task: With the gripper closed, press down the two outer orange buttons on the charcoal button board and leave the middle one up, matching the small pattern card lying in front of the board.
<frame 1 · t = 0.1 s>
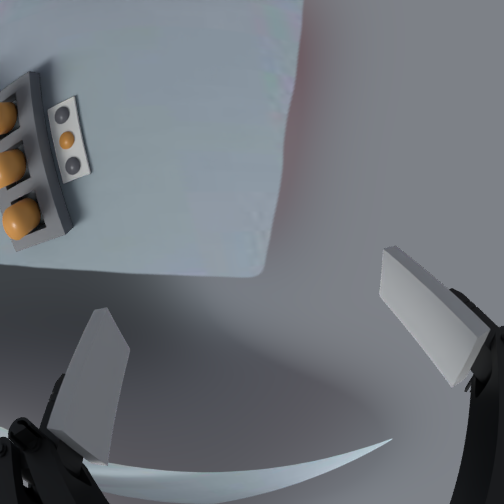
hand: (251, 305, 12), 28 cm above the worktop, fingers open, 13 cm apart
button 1: (21, 218, 29), point 5 cm above the worktop, slide at 0.0 cm
pattern card: (68, 140, 31), on the worktop
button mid: (7, 168, 26), point 5 cm above the worktop, slide at 0.0 cm
board: (24, 162, 30), on the worktop
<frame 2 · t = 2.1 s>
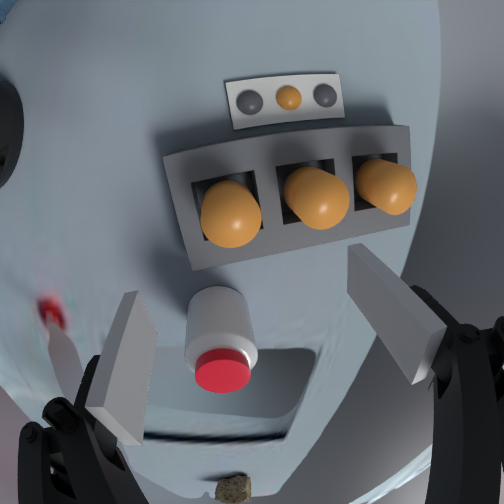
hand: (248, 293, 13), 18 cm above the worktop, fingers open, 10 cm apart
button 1: (385, 185, 25), point 5 cm above the worktop, slide at 0.0 cm
pattern card: (287, 98, 25), on the worktop
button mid: (314, 195, 25), point 5 cm above the worktop, slide at 0.0 cm
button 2: (229, 211, 25), point 5 cm above the worktop, slide at 0.0 cm
rock: (230, 478, 66), on the worktop
pill bottle: (217, 310, 35), on the worktop
board: (299, 185, 29), on the worktop
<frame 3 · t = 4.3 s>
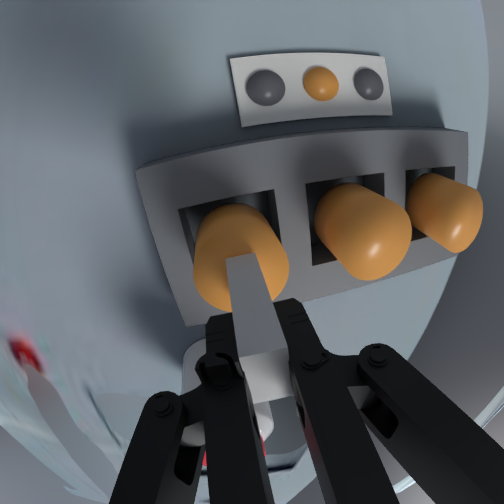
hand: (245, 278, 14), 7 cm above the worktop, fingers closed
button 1: (445, 210, 17), point 5 cm above the worktop, slide at 0.0 cm
pattern card: (318, 84, 17), on the worktop
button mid: (361, 228, 17), point 5 cm above the worktop, slide at 0.0 cm
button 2: (237, 254, 16), point 5 cm above the worktop, slide at 0.0 cm, touching gripper
pill bottle: (220, 360, 27), on the worktop
board: (332, 206, 21), on the worktop
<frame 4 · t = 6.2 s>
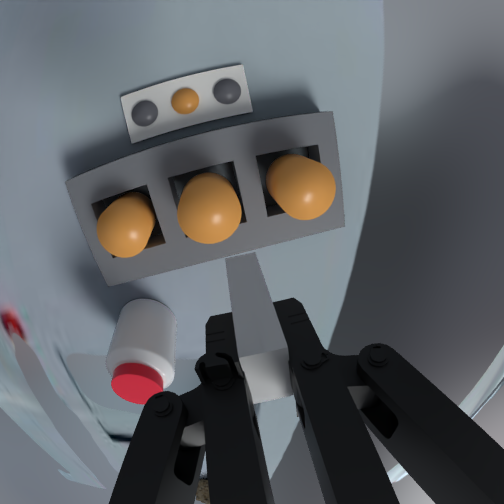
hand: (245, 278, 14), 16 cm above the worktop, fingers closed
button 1: (298, 184, 24), point 5 cm above the worktop, slide at 0.0 cm
pattern card: (185, 101, 23), on the worktop
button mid: (208, 205, 23), point 5 cm above the worktop, slide at 0.0 cm
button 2: (127, 223, 24), point 3 cm above the worktop, slide at 1.8 cm
rock: (210, 478, 65), on the worktop
pill bottle: (148, 321, 33), on the worktop
board: (207, 192, 27), on the worktop
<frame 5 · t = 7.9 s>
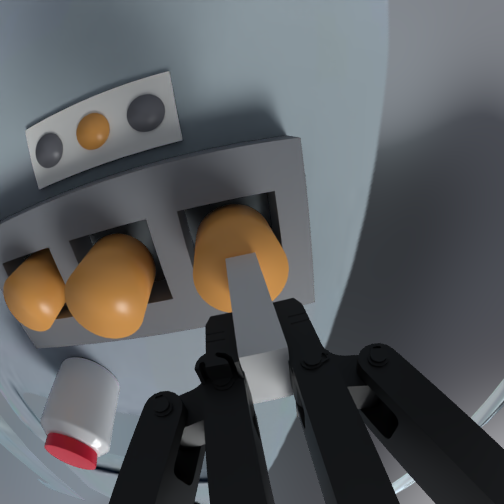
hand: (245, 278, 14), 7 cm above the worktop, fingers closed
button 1: (237, 255, 16), point 4 cm above the worktop, slide at 0.3 cm, touching gripper
pattern card: (95, 131, 16), on the worktop
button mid: (112, 284, 16), point 5 cm above the worktop, slide at 0.0 cm
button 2: (39, 288, 17), point 3 cm above the worktop, slide at 1.8 cm
pill bottle: (90, 378, 26), on the worktop
board: (129, 251, 20), on the worktop
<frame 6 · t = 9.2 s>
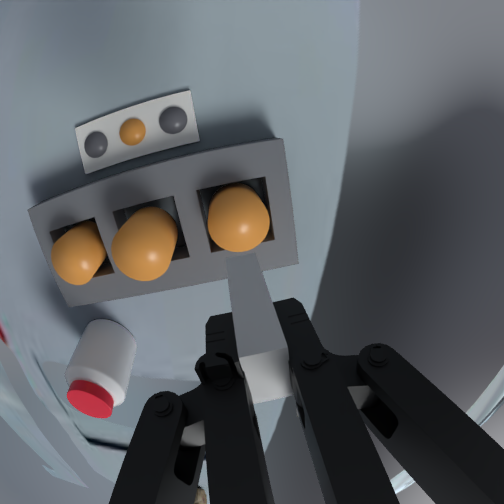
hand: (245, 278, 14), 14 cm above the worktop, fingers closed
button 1: (236, 215, 24), point 3 cm above the worktop, slide at 1.8 cm
pattern card: (133, 131, 23), on the worktop
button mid: (146, 242, 22), point 5 cm above the worktop, slide at 0.0 cm
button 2: (80, 251, 24), point 3 cm above the worktop, slide at 1.8 cm
rock: (186, 488, 63), on the worktop
pill bottle: (110, 340, 33), on the worktop
board: (156, 223, 27), on the worktop
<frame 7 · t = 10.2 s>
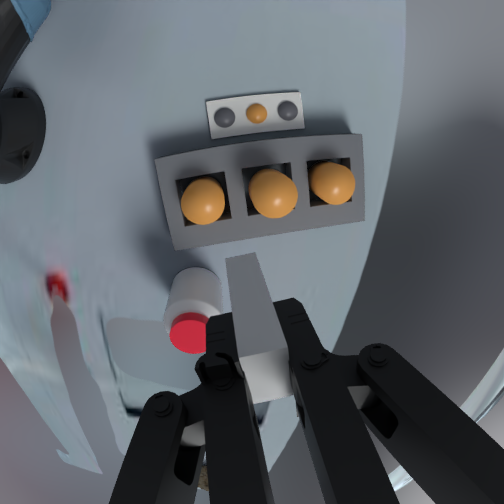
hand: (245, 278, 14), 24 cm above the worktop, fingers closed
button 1: (330, 181, 34), point 3 cm above the worktop, slide at 1.8 cm
pattern card: (256, 113, 32), on the worktop
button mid: (271, 192, 32), point 5 cm above the worktop, slide at 0.0 cm
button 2: (203, 199, 33), point 3 cm above the worktop, slide at 1.8 cm
rock: (211, 466, 70), on the worktop
pill bottle: (196, 288, 42), on the worktop
board: (265, 184, 36), on the worktop
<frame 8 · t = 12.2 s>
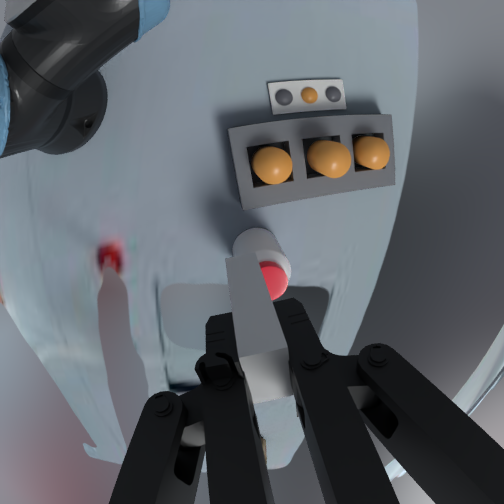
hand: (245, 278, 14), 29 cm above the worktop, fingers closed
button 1: (369, 151, 39), point 3 cm above the worktop, slide at 1.8 cm
pattern card: (308, 95, 37), on the worktop
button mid: (328, 158, 37), point 5 cm above the worktop, slide at 0.0 cm
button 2: (270, 164, 38), point 3 cm above the worktop, slide at 1.8 cm
pill bottle: (255, 248, 47), on the worktop
board: (316, 154, 41), on the worktop
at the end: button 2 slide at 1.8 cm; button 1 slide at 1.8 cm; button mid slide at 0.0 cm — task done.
